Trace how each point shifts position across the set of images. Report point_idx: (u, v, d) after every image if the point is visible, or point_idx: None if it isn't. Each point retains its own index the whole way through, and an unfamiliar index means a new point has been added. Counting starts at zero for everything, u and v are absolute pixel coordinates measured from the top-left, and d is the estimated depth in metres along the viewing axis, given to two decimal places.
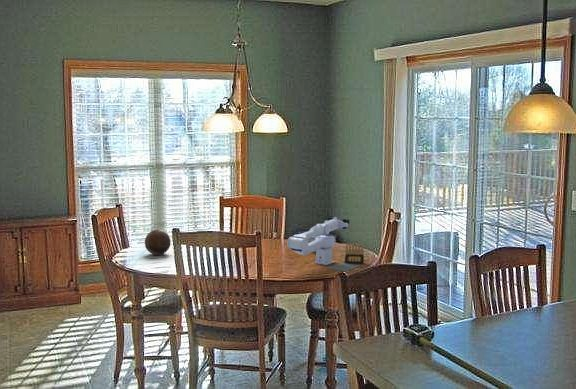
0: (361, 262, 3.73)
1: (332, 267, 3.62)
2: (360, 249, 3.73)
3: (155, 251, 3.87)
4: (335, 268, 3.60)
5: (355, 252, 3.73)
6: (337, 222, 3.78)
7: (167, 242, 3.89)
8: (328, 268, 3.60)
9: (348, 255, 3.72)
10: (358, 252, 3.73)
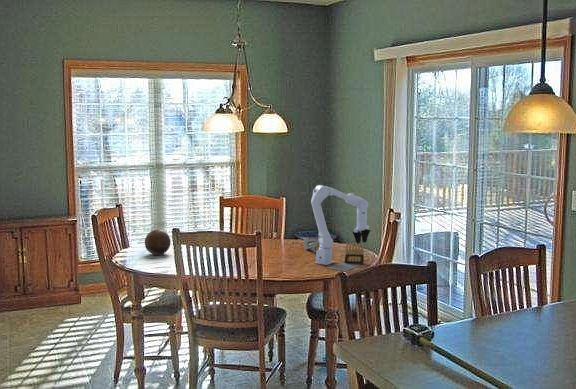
0: (361, 262, 3.73)
1: (332, 267, 3.62)
2: (360, 249, 3.73)
3: (155, 251, 3.87)
4: (335, 268, 3.60)
5: (355, 252, 3.73)
6: (361, 225, 3.75)
7: (167, 242, 3.89)
8: (328, 268, 3.60)
9: (348, 255, 3.72)
10: (358, 252, 3.73)
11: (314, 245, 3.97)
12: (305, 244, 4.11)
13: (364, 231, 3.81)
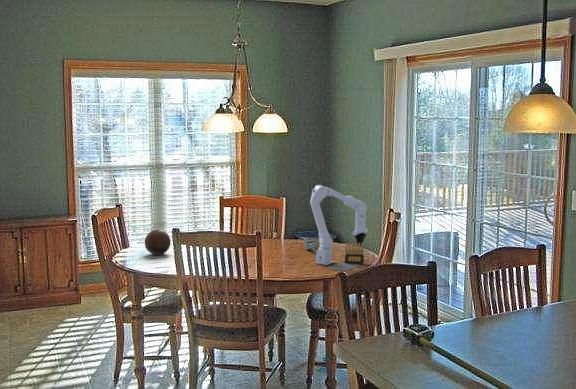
0: (361, 262, 3.73)
1: (332, 267, 3.62)
2: (360, 249, 3.73)
3: (155, 251, 3.87)
4: (335, 268, 3.60)
5: (355, 252, 3.73)
6: (360, 228, 3.74)
7: (167, 242, 3.89)
8: (328, 268, 3.60)
9: (348, 255, 3.72)
10: (358, 252, 3.73)
11: (314, 245, 3.96)
12: (305, 244, 4.10)
13: None
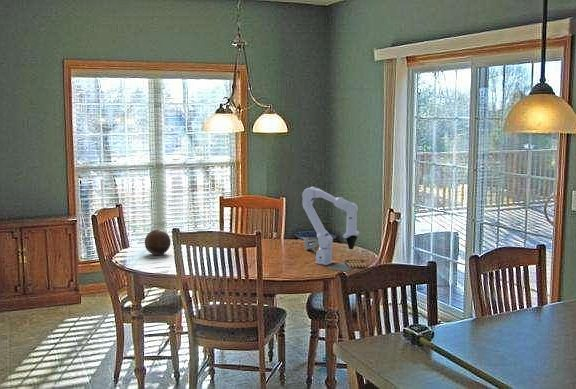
0: None
1: (332, 267, 3.62)
2: (362, 266, 3.65)
3: (155, 251, 3.87)
4: (335, 268, 3.60)
5: None
6: (351, 231, 3.66)
7: (167, 242, 3.89)
8: (328, 268, 3.60)
9: None
10: None
11: (315, 245, 3.96)
12: (306, 244, 4.10)
13: None
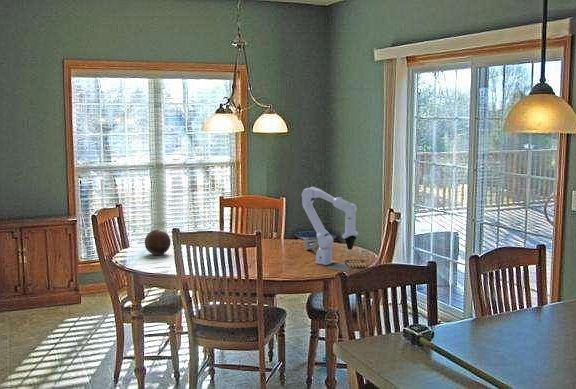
0: None
1: (332, 267, 3.62)
2: (362, 266, 3.65)
3: (155, 251, 3.87)
4: (335, 268, 3.60)
5: None
6: (350, 231, 3.65)
7: (167, 242, 3.89)
8: (328, 268, 3.60)
9: None
10: None
11: (315, 245, 3.96)
12: (306, 244, 4.09)
13: None
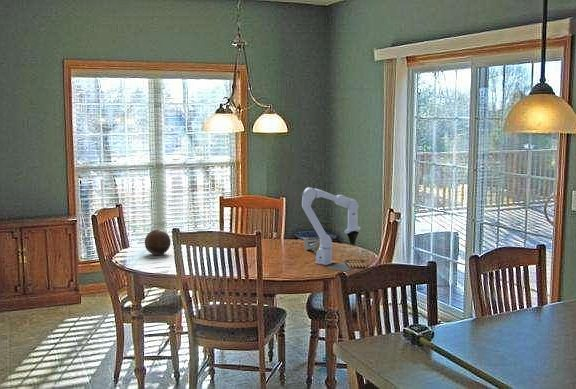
0: None
1: (332, 267, 3.62)
2: (362, 266, 3.65)
3: (155, 251, 3.87)
4: (335, 268, 3.60)
5: None
6: (352, 226, 3.71)
7: (167, 242, 3.89)
8: (328, 268, 3.60)
9: None
10: None
11: (315, 245, 3.96)
12: (306, 244, 4.09)
13: None
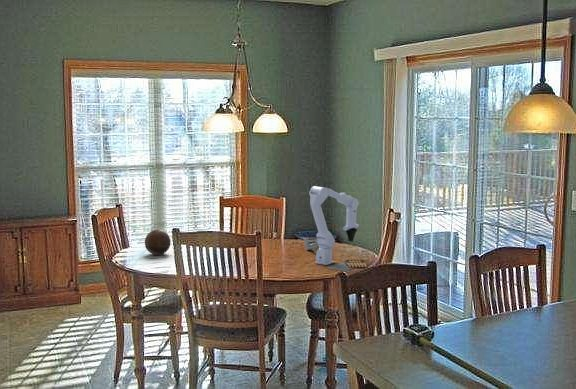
0: None
1: (332, 267, 3.62)
2: (362, 266, 3.65)
3: (155, 251, 3.87)
4: (335, 268, 3.60)
5: None
6: (351, 224, 3.81)
7: (167, 242, 3.89)
8: (328, 268, 3.60)
9: None
10: None
11: (315, 245, 3.95)
12: (306, 244, 4.09)
13: None
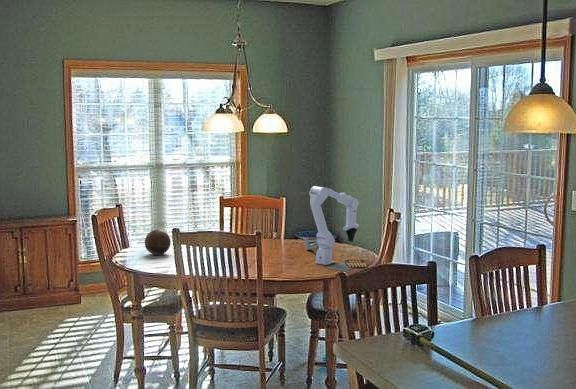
0: None
1: (332, 267, 3.62)
2: (362, 266, 3.65)
3: (155, 251, 3.87)
4: (335, 268, 3.60)
5: None
6: (351, 224, 3.81)
7: (167, 242, 3.89)
8: (328, 268, 3.60)
9: None
10: None
11: (315, 246, 3.95)
12: (306, 245, 4.09)
13: None
